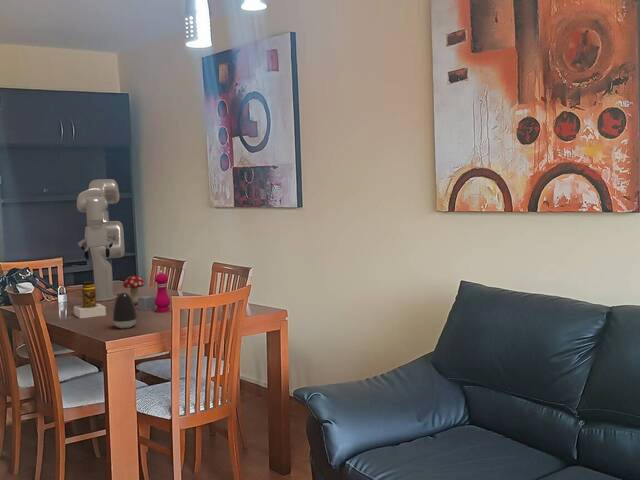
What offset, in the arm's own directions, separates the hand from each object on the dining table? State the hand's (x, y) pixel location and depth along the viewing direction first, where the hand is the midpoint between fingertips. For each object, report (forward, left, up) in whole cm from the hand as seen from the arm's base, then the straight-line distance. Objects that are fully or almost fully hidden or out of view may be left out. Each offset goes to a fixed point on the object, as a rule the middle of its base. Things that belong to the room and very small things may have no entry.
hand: (97, 258), depth 351 cm
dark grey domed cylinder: (+45, -2, -27) cm, 53 cm away
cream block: (+6, -7, -26) cm, 28 cm away
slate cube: (+9, +20, -26) cm, 34 cm away
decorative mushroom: (-8, +19, -27) cm, 34 cm away
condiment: (+5, -7, -23) cm, 24 cm away
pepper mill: (+20, +24, -27) cm, 42 cm away
